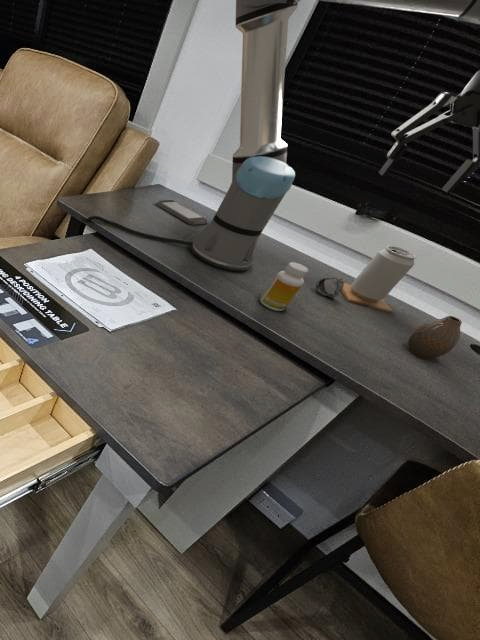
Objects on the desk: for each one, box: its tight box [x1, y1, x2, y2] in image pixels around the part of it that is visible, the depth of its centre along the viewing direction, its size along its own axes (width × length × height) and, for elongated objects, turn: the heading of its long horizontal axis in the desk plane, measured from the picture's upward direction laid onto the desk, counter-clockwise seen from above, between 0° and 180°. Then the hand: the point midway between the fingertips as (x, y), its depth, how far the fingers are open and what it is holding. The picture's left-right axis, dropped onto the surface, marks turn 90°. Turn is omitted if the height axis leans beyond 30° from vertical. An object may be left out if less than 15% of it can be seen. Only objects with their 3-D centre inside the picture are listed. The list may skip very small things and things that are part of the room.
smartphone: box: [156, 199, 209, 226], centre depth 139 cm, size 7×1×15 cm
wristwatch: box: [315, 276, 345, 298], centre depth 110 cm, size 3×5×5 cm
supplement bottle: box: [259, 261, 309, 312], centre depth 100 cm, size 5×5×10 cm
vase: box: [407, 315, 463, 359], centre depth 94 cm, size 7×7×9 cm
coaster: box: [341, 282, 393, 313], centre depth 114 cm, size 10×10×1 cm
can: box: [350, 245, 417, 301], centre depth 110 cm, size 8×8×12 cm
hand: (413, 183), depth 103 cm, fingers open, 13 cm apart
